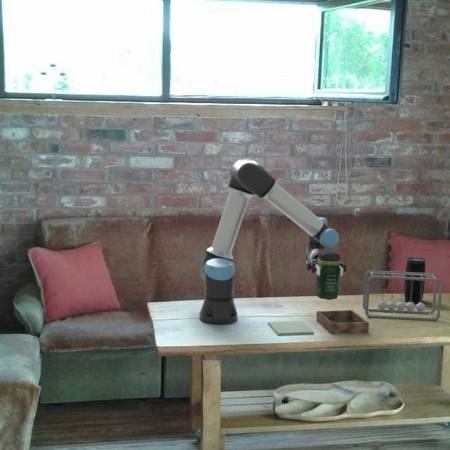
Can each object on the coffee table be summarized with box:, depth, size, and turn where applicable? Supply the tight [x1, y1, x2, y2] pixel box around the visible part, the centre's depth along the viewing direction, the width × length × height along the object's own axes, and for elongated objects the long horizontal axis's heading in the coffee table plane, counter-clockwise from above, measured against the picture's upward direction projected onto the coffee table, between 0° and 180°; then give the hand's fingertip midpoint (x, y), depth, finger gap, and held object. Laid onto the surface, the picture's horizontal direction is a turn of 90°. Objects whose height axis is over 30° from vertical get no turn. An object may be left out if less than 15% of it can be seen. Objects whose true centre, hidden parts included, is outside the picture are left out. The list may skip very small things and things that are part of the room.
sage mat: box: [267, 320, 314, 336], centre depth 267 cm, size 14×14×1 cm
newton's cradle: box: [362, 269, 443, 322], centre depth 287 cm, size 30×10×18 cm, turn 85°
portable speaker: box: [403, 256, 426, 304], centre depth 310 cm, size 9×9×20 cm
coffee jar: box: [315, 248, 341, 301], centre depth 267 cm, size 10×8×19 cm
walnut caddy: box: [315, 309, 370, 335], centre depth 272 cm, size 15×17×4 cm
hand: (330, 272), depth 262 cm, fingers closed on coffee jar, 8 cm apart
